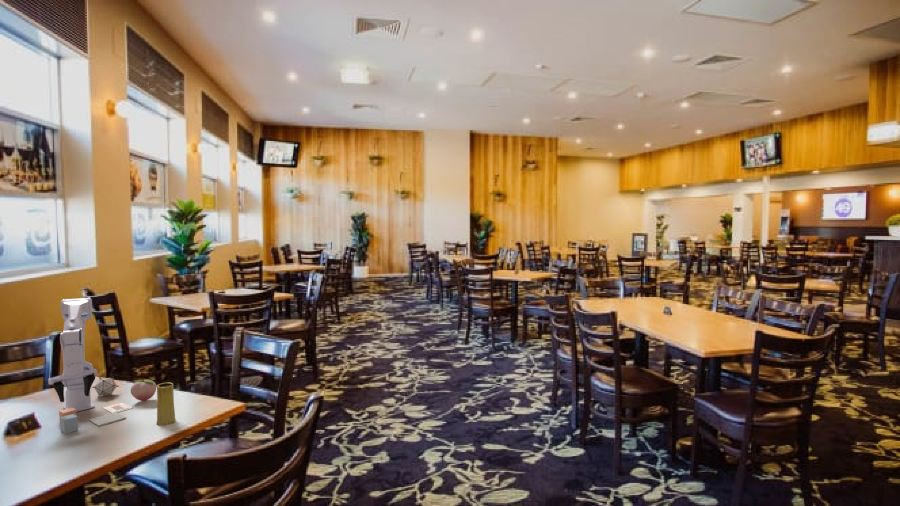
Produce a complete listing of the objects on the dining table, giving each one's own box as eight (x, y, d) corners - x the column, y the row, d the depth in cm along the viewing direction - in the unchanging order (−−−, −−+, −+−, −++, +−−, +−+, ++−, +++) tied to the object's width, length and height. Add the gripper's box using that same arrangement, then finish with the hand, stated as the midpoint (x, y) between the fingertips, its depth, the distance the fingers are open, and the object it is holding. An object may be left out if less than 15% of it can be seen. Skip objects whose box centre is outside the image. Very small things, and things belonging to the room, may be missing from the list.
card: (102, 408, 200) (102, 407, 200) (122, 402, 205) (122, 402, 205) (112, 413, 194) (112, 413, 194) (132, 408, 199) (132, 407, 199)
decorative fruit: (161, 397, 212) (160, 374, 211) (150, 404, 203) (149, 380, 203) (139, 397, 212) (138, 374, 211) (127, 404, 203) (126, 380, 203)
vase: (179, 420, 188) (178, 383, 187) (165, 426, 182) (164, 388, 181) (167, 418, 190) (165, 381, 189) (152, 424, 184) (151, 386, 183)
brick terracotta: (59, 423, 184) (59, 410, 184) (72, 420, 187) (72, 407, 187) (63, 426, 182) (62, 413, 181) (76, 422, 185) (76, 409, 185)
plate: (89, 420, 187) (89, 419, 187) (116, 413, 194) (116, 412, 194) (98, 426, 182) (98, 425, 182) (126, 418, 189) (126, 417, 189)
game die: (107, 405, 212) (101, 391, 206) (91, 397, 214) (85, 383, 208) (125, 389, 219) (120, 376, 213) (109, 381, 221) (104, 367, 214)
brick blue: (60, 431, 178) (60, 417, 178) (74, 427, 181) (73, 413, 181) (64, 433, 175) (63, 420, 175) (78, 430, 179) (77, 416, 178)
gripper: (52, 369, 175) (54, 406, 176) (100, 359, 186) (101, 395, 187) (45, 365, 179) (47, 402, 180) (92, 356, 191) (94, 391, 191)
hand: (74, 398), depth 184 cm, fingers open, 7 cm apart
